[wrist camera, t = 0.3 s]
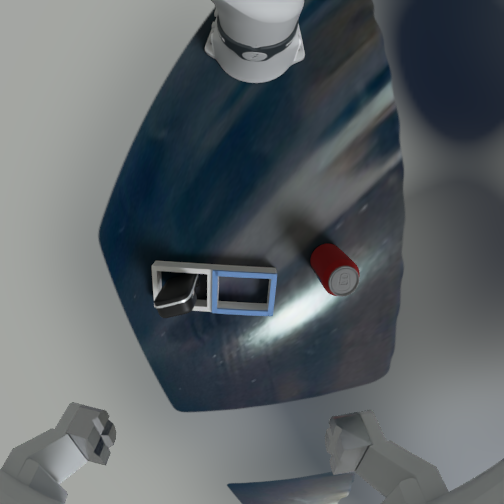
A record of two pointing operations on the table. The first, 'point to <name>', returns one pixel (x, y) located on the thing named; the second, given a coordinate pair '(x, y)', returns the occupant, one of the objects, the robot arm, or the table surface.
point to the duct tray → (213, 286)
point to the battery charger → (177, 296)
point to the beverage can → (335, 270)
